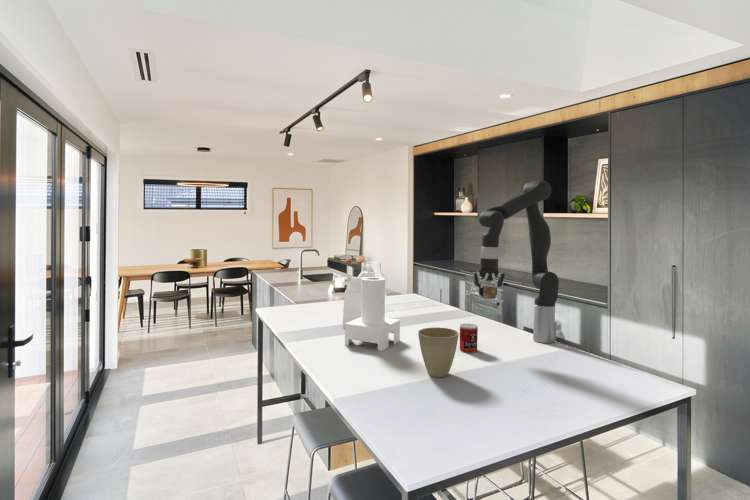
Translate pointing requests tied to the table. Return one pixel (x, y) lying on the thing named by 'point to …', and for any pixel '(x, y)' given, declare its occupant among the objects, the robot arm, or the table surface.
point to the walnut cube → (489, 292)
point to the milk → (352, 301)
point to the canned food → (468, 338)
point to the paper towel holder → (372, 316)
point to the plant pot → (438, 349)
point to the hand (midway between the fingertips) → (487, 296)
